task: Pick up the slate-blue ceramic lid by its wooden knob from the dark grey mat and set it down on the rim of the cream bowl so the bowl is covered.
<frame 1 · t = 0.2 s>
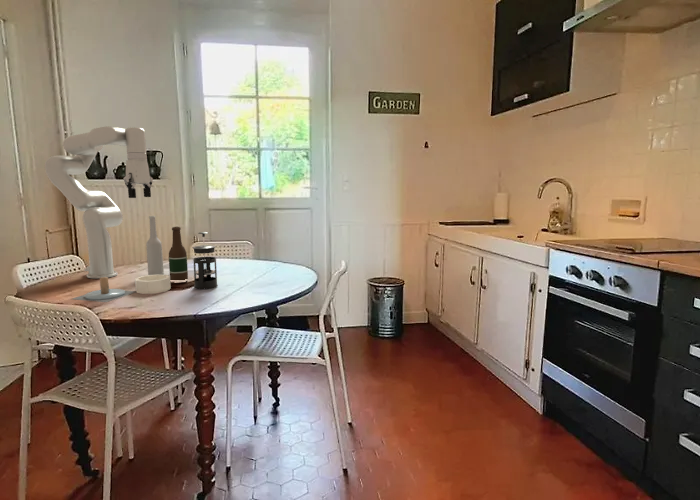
hand: (140, 197, 196), 36 cm above the table, tool pointing down, fingers open, 9 cm apart
mat: (105, 296, 172), on the table
bottle: (156, 277, 206), on the table
lid: (105, 295, 172), point 1 cm above the table, touching mat
french press: (205, 287, 188), on the table
bowl: (153, 291, 181), on the table
beer bottle: (179, 281, 198), on the table
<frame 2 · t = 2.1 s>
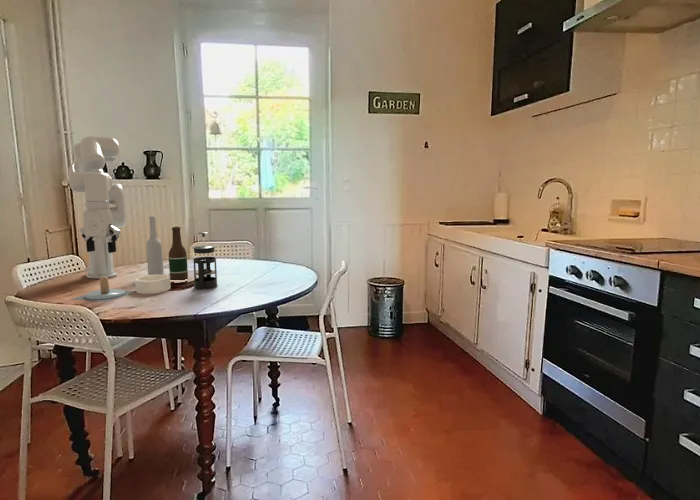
hand: (101, 251, 169), 17 cm above the table, tool pointing down, fingers open, 9 cm apart
nothing on the table moved.
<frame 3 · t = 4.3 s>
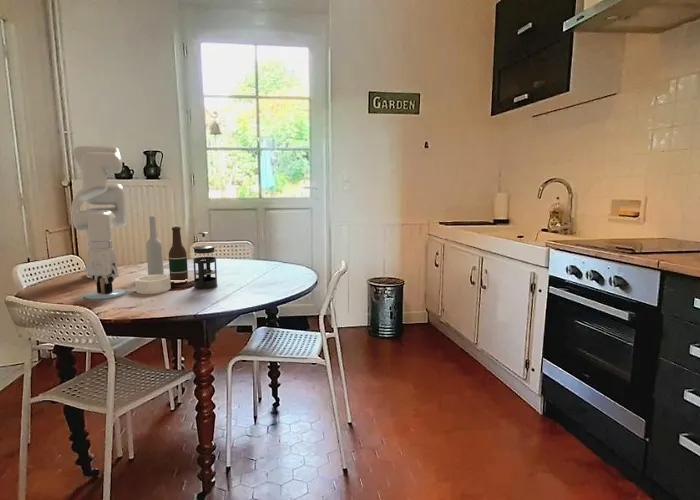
hand: (105, 292, 172), 2 cm above the table, tool pointing down, fingers closed on lid, 2 cm apart
lid: (105, 295, 172), point 1 cm above the table, touching gripper, mat
everything else where it was.
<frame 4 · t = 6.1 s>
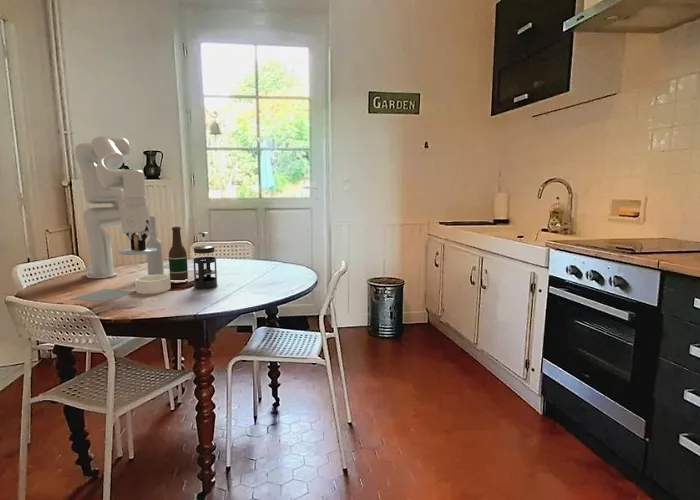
hand: (138, 249, 176), 17 cm above the table, tool pointing down, fingers closed on lid, 2 cm apart
lid: (138, 252, 176), point 16 cm above the table, touching gripper
everything else where it was.
when the fingers open (8 cm above the table, at t = 8.3 s): lid drops 2 cm, resting on bowl.
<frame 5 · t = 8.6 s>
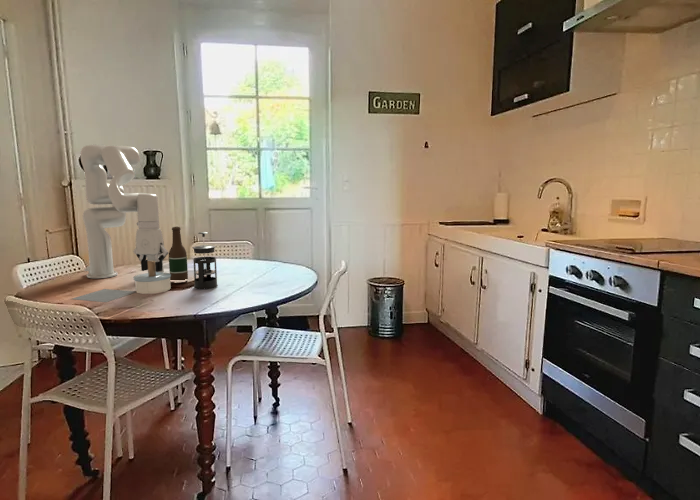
hand: (152, 270, 179), 9 cm above the table, tool pointing down, fingers open, 6 cm apart
lid: (152, 277, 180), point 5 cm above the table, touching bowl
everything else where it was.
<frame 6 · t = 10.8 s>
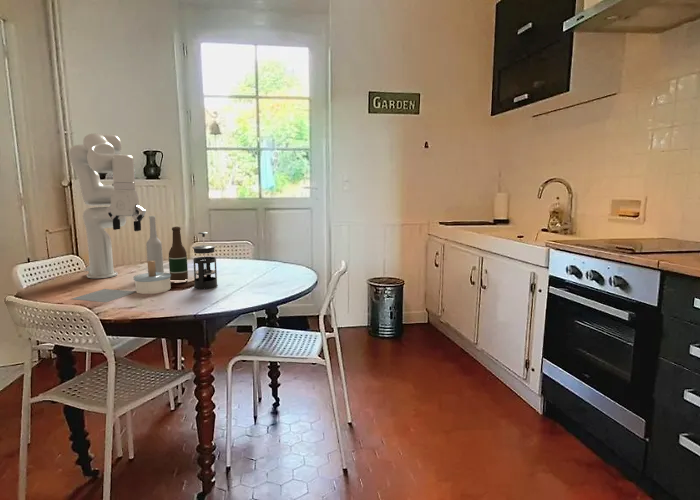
hand: (127, 230, 180), 24 cm above the table, tool pointing down, fingers open, 9 cm apart
nothing on the table moved.
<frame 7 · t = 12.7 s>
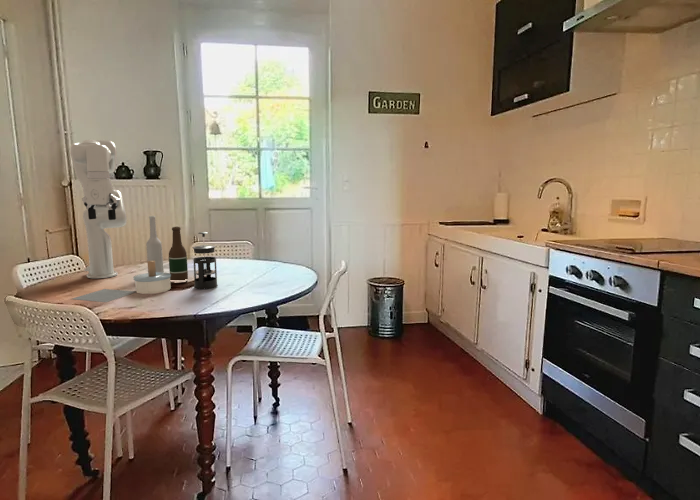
hand: (102, 219, 182), 28 cm above the table, tool pointing down, fingers open, 9 cm apart
nothing on the table moved.
at the end: lid 0.1 cm off-centre on the bowl, point 5.5 cm above the bowl's base; lid tilted 0°; the gripper is holding nothing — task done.
